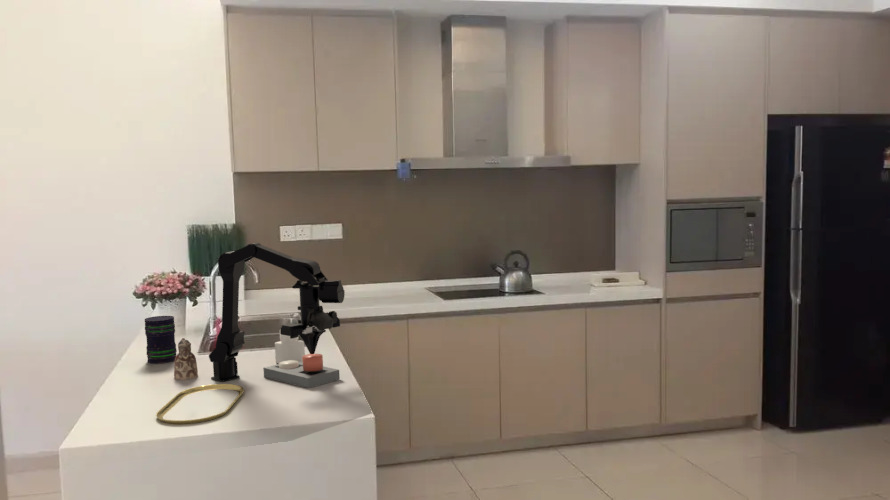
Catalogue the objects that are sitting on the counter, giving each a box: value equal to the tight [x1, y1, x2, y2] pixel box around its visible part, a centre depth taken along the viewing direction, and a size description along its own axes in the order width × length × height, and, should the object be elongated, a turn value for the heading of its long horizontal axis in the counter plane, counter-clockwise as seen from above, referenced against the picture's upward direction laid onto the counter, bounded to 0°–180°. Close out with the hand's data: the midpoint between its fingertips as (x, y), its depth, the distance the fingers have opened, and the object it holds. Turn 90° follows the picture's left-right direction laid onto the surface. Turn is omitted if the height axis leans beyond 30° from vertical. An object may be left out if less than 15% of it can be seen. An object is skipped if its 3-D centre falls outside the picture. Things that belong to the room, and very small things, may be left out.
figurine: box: [173, 337, 199, 380], centre depth 247 cm, size 7×7×12 cm
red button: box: [302, 353, 324, 371], centre depth 235 cm, size 6×6×4 cm
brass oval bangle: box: [155, 383, 245, 425], centre depth 215 cm, size 19×35×2 cm, turn 2°
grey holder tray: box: [263, 360, 341, 389], centre depth 240 cm, size 12×22×3 cm, turn 48°
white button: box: [279, 360, 299, 370], centre depth 244 cm, size 6×6×4 cm
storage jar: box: [144, 315, 178, 365], centre depth 270 cm, size 10×10×15 cm
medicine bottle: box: [274, 332, 306, 364], centre depth 261 cm, size 7×7×12 cm
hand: (312, 353), depth 235 cm, fingers closed
